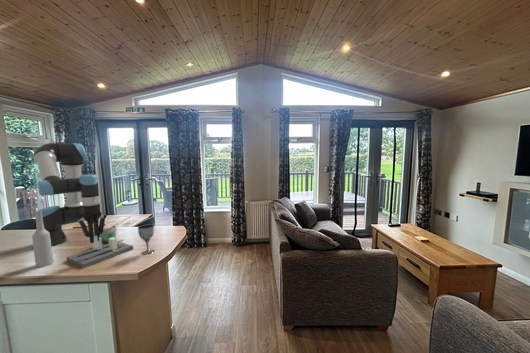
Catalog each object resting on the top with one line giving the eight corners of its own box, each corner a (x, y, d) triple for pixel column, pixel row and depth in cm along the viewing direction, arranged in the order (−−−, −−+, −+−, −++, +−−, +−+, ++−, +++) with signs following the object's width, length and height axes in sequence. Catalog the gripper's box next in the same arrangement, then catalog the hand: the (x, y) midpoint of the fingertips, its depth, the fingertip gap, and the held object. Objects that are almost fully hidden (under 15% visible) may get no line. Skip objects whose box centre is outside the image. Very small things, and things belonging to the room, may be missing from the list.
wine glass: (143, 249, 135) (141, 224, 133) (157, 248, 135) (156, 223, 134) (137, 255, 127) (135, 229, 125) (152, 254, 127) (150, 228, 126)
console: (66, 260, 123) (65, 253, 122) (115, 244, 144) (115, 237, 144) (84, 268, 114) (83, 259, 114) (133, 249, 136) (132, 242, 135)
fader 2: (109, 248, 131) (108, 238, 130) (113, 247, 133) (113, 237, 132) (113, 250, 129) (112, 239, 128) (117, 248, 131) (116, 238, 130)
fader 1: (94, 249, 131) (93, 238, 131) (99, 247, 133) (98, 237, 133) (97, 250, 129) (96, 239, 129) (102, 248, 132) (101, 238, 131)
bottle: (43, 267, 116) (36, 212, 113) (32, 267, 117) (25, 212, 114) (56, 261, 122) (50, 209, 119) (46, 261, 123) (40, 209, 120)
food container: (106, 248, 139) (104, 231, 138) (97, 247, 140) (96, 231, 139) (122, 240, 151) (121, 225, 150) (114, 240, 152) (113, 225, 151)
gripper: (80, 207, 113) (84, 254, 116) (108, 202, 125) (112, 244, 127) (72, 206, 117) (77, 251, 119) (101, 201, 128) (104, 242, 131)
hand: (95, 247), depth 123 cm, fingers closed
